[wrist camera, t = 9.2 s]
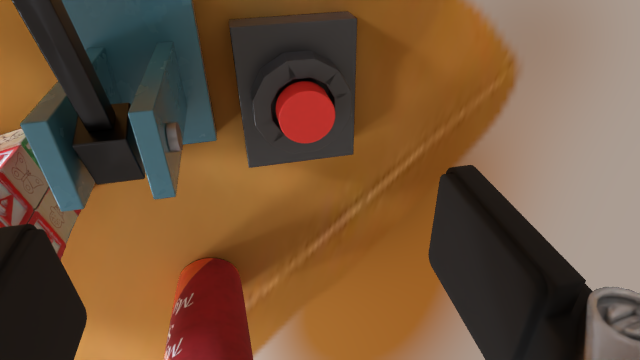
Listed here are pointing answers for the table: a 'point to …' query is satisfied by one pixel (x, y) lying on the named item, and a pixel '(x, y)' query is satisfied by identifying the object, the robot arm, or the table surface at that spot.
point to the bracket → (129, 92)
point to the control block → (294, 80)
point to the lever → (84, 95)
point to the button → (305, 112)
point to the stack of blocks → (30, 193)
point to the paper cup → (209, 314)
